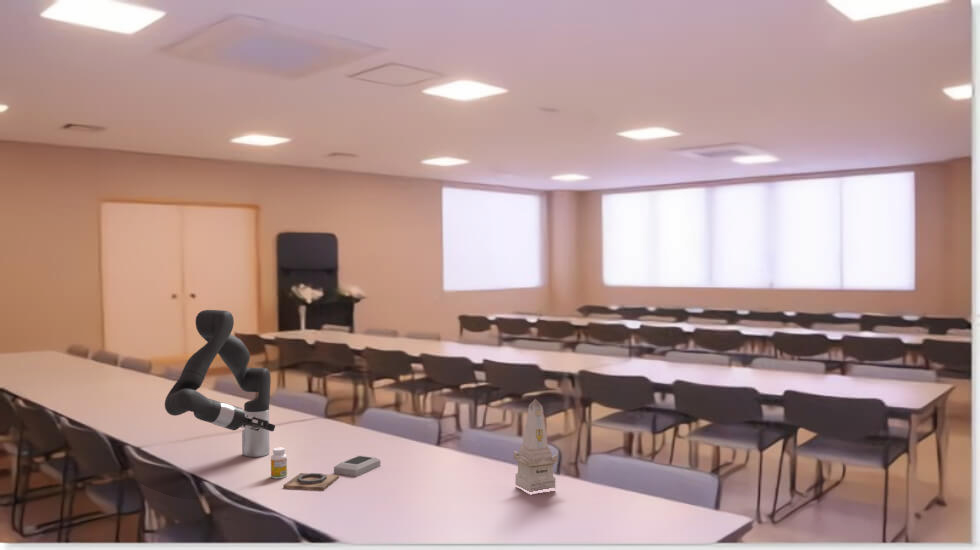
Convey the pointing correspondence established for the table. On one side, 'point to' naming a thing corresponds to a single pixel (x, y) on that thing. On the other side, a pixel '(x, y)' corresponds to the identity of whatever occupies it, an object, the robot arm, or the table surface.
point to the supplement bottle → (278, 463)
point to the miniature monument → (535, 454)
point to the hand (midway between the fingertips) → (266, 428)
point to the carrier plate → (311, 481)
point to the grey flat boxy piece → (357, 465)
